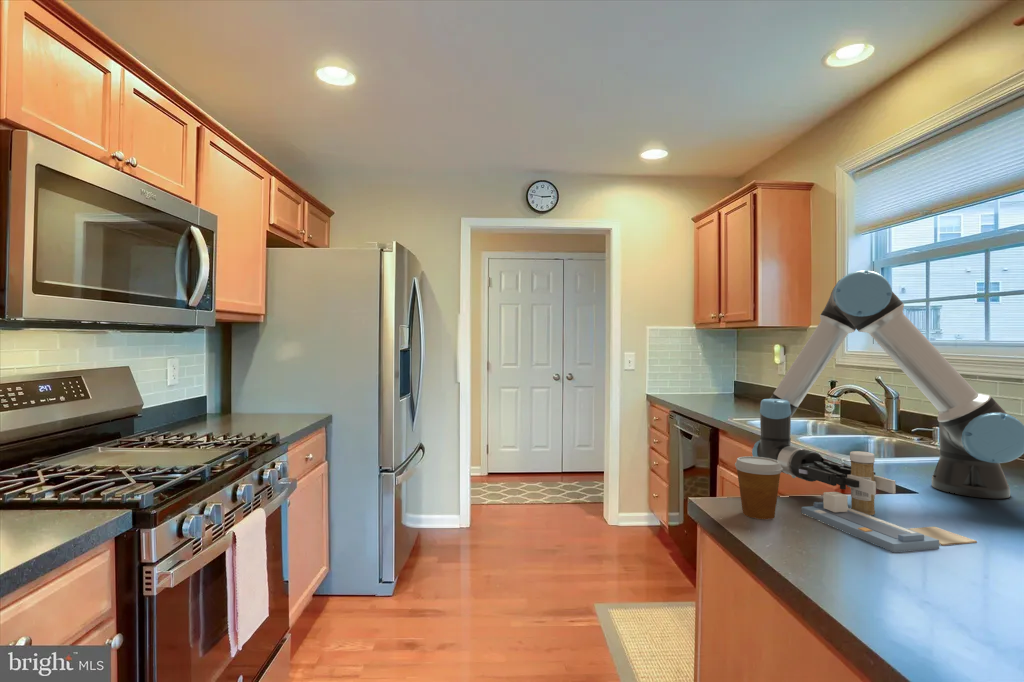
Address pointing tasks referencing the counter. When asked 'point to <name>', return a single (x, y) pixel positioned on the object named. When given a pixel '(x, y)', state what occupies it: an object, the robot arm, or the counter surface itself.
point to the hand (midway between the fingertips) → (884, 487)
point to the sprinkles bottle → (864, 469)
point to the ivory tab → (835, 502)
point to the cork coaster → (943, 536)
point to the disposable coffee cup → (758, 485)
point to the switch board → (872, 529)
